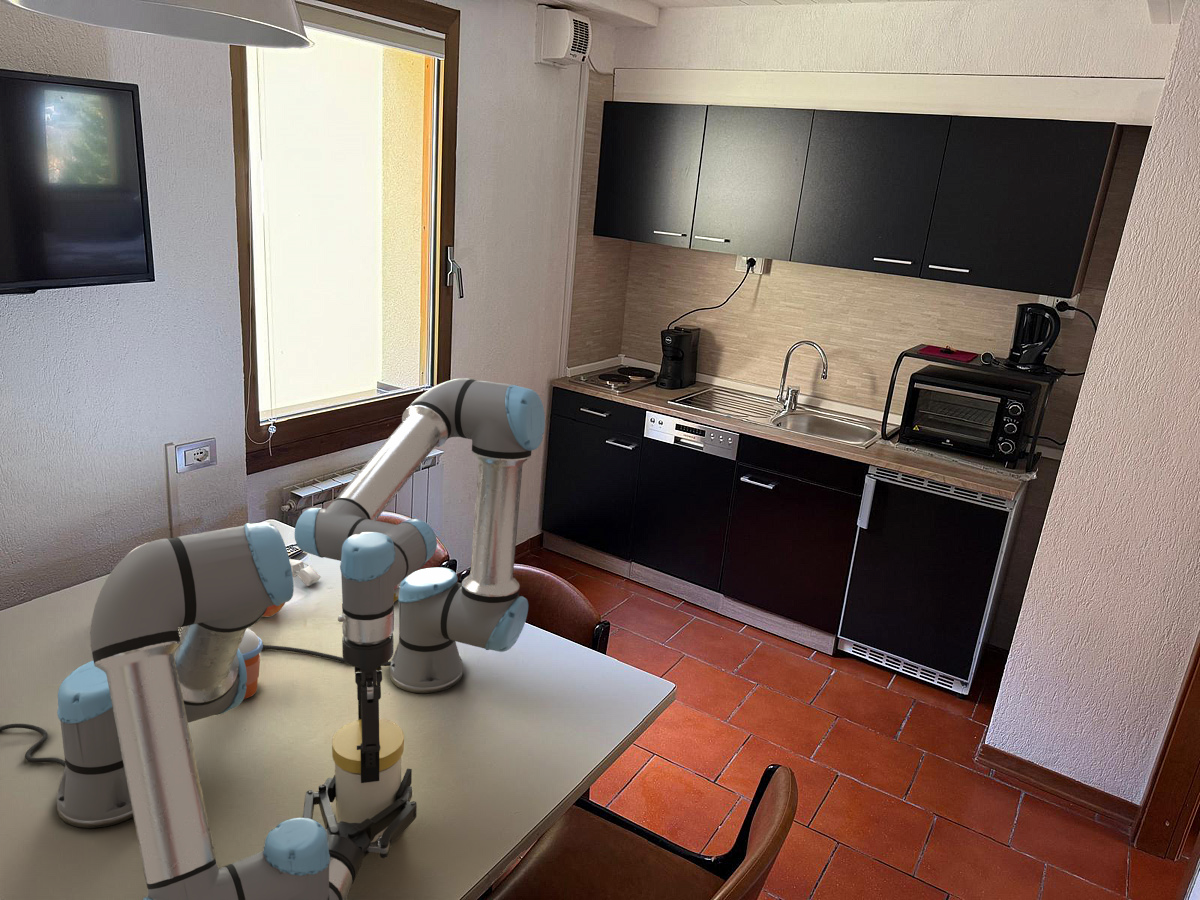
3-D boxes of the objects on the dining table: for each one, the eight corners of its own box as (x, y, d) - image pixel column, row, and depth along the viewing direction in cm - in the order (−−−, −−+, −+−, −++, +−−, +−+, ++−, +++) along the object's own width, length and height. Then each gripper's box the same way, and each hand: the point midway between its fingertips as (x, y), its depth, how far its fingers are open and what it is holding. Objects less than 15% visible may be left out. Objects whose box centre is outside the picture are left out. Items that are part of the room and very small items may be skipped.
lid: (416, 739, 139) (416, 727, 138) (381, 781, 129) (381, 768, 128) (357, 723, 142) (357, 711, 141) (317, 763, 132) (317, 750, 131)
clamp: (253, 565, 223) (254, 542, 221) (265, 560, 226) (266, 537, 224) (309, 593, 215) (310, 569, 213) (320, 588, 218) (321, 564, 216)
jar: (402, 800, 145) (403, 722, 141) (399, 845, 136) (400, 762, 131) (339, 803, 143) (338, 724, 139) (332, 849, 134) (330, 765, 129)
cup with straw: (247, 708, 166) (243, 626, 161) (205, 700, 167) (200, 618, 162) (273, 683, 174) (270, 604, 169) (233, 675, 176) (229, 597, 171)
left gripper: (249, 886, 122) (309, 783, 143) (407, 904, 121) (444, 798, 142) (247, 843, 120) (308, 745, 141) (407, 861, 119) (445, 760, 140)
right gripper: (341, 599, 139) (342, 715, 145) (343, 678, 117) (345, 810, 124) (388, 596, 141) (388, 711, 147) (399, 673, 120) (398, 803, 126)
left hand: (376, 772), depth 142 cm, fingers closed on jar, 10 cm apart
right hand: (368, 756), depth 136 cm, fingers closed on lid, 11 cm apart
